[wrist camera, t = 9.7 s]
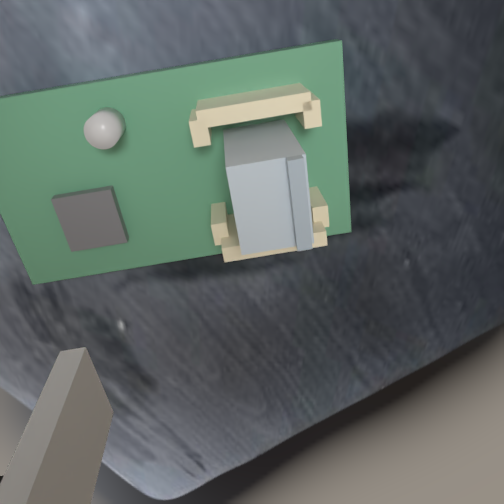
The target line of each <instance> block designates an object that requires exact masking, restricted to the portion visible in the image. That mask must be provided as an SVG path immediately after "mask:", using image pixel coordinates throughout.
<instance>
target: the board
mask: <svg viewBox="0 0 504 504" xmlns="http://www.w3.org/2000/svg"><path fill="white" fill-rule="evenodd" d="M282 119H284V120H285V121H286V123H287V125H288V126H289V128H290V129H291V131H292V133H293V134H294V136H295V137H296V139H297V141H298V142H299V144H300V145H301V147H302V149H303V150H304V152H305V153H306V161H307V172H308V182H309V193H310V204H311V214H312V225H313V236H314V243H312V247H313V248H314V247H320V246H326V245H327V236H329V235H335V234H341V233H347V232H351V216H350V195H349V175H348V154H347V134H346V113H345V93H344V72H343V52H342V40H338V39H334V40H328V41H322V42H316V43H310V44H304V45H298V46H293V47H287V48H281V49H275V50H269V51H263V52H257V53H251V54H246V55H240V56H234V57H228V58H222V59H216V60H210V61H204V62H199V63H193V64H187V65H181V66H175V67H169V68H163V69H157V70H152V71H146V72H140V73H134V74H128V75H122V76H116V77H110V78H104V79H99V80H93V81H87V82H81V83H75V84H69V85H63V86H57V87H52V88H46V89H40V90H34V91H28V92H22V93H16V94H10V95H5V96H0V214H1V216H2V218H3V220H4V223H5V225H6V227H7V229H8V231H9V234H10V236H11V238H12V240H13V242H14V244H15V247H16V249H17V251H18V253H19V255H20V258H21V260H22V262H23V264H24V266H25V269H26V271H27V273H28V275H29V277H30V280H31V282H32V284H33V285H35V284H41V283H47V282H53V281H59V280H65V279H71V278H77V277H83V276H89V275H95V274H101V273H107V272H113V271H119V270H125V269H131V268H137V267H143V266H149V265H155V264H161V263H167V262H173V261H179V260H185V259H191V258H197V257H203V256H209V255H215V254H221V253H223V258H224V262H230V261H236V260H242V259H248V258H254V257H260V256H266V255H272V254H278V253H284V252H290V251H296V250H297V247H296V246H294V247H288V248H282V249H276V250H270V251H264V252H258V253H252V254H246V255H242V254H241V249H240V243H239V238H238V232H237V227H236V222H235V216H234V211H233V205H232V200H231V194H230V189H229V184H228V178H227V173H226V167H225V151H224V135H223V129H229V128H235V127H241V126H247V125H253V124H259V123H265V122H270V121H276V120H282Z"/></svg>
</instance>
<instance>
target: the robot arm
mask: <svg viewBox="0 0 504 504" xmlns="http://www.w3.org/2000/svg"><path fill="white" fill-rule="evenodd" d="M113 413H114V412H113V410H112V408H111V405H110V403H109V400H108V398H107V396H106V393H105V391H104V389H103V386H102V384H101V382H100V379H99V377H98V375H97V372H96V370H95V368H94V365H93V363H92V361H91V358H90V356H89V353H88V351H87V349H86V347H83V348H77V349H71V350H65V351H60V353H59V355H58V357H57V359H56V361H55V364H54V366H53V368H52V370H51V372H50V375H49V377H48V379H47V381H46V384H45V386H44V388H43V390H42V392H41V395H40V397H39V399H38V401H37V403H36V406H35V408H34V410H33V412H32V414H31V417H30V419H29V421H28V424H27V426H26V428H25V430H24V432H23V434H22V437H21V439H20V441H19V443H18V446H17V448H16V450H15V452H14V454H13V457H12V459H11V461H10V463H9V465H8V468H7V470H6V472H5V474H4V476H0V504H91V500H92V496H93V492H94V488H95V484H96V480H97V476H98V472H99V468H100V464H101V460H102V457H103V453H104V449H105V445H106V441H107V437H108V433H109V429H110V425H111V421H112V417H113Z"/></svg>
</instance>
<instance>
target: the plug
mask: <svg viewBox="0 0 504 504" xmlns="http://www.w3.org/2000/svg"><path fill="white" fill-rule="evenodd" d="M223 135H224V151H225V167H226V173H227V178H228V184H229V189H230V194H231V200H232V205H233V211H234V216H235V222H236V227H237V232H238V238H239V243H240V249H241V254H242V255H246V254H252V253H258V252H264V251H270V250H276V249H282V248H288V247H294V246H296V247H297V250H298V251H303V250H309V249H313V247H312V243H314V236H313V225H312V214H311V204H310V193H309V182H308V172H307V161H306V153H305V152H304V150H303V149H302V147H301V145H300V144H299V142H298V141H297V139H296V137H295V136H294V134H293V133H292V131H291V129H290V128H289V126H288V125H287V123H286V121H285V120H284V119H282V120H276V121H270V122H265V123H259V124H253V125H247V126H241V127H235V128H229V129H223Z"/></svg>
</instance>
